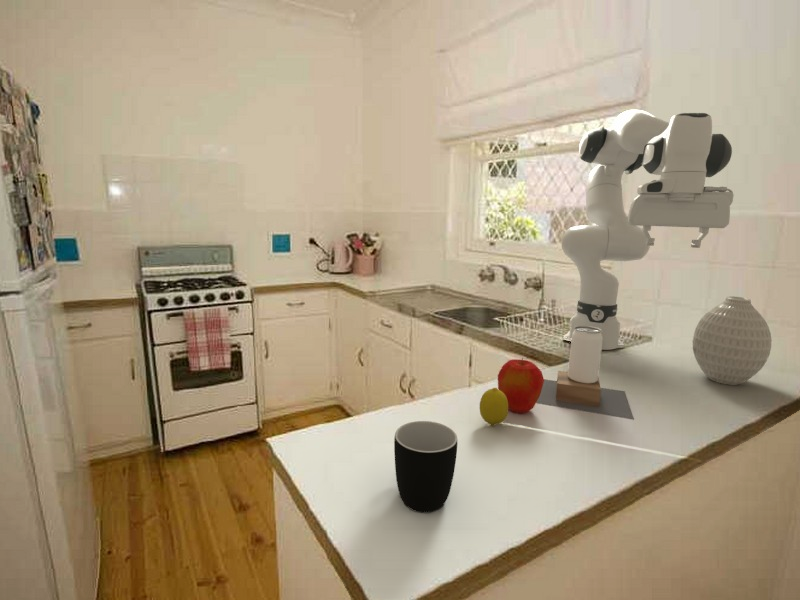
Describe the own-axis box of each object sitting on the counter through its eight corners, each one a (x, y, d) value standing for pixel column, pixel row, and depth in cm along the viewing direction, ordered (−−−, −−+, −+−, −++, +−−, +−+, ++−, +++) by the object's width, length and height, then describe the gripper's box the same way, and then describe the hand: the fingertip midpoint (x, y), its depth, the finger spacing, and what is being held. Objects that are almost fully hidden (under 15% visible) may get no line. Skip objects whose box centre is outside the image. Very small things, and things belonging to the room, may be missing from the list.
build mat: (530, 378, 112) (530, 377, 112) (624, 392, 105) (624, 391, 105) (524, 402, 98) (524, 400, 98) (633, 421, 90) (634, 419, 90)
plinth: (556, 385, 107) (558, 370, 106) (596, 392, 104) (598, 376, 103) (555, 399, 99) (557, 383, 98) (598, 407, 96) (601, 390, 95)
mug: (466, 508, 62) (470, 443, 60) (410, 527, 58) (413, 458, 56) (423, 465, 72) (426, 408, 70) (374, 478, 68) (375, 418, 66)
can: (602, 385, 98) (608, 333, 95) (573, 383, 98) (578, 332, 96) (590, 374, 104) (596, 326, 102) (563, 373, 104) (568, 325, 102)
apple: (487, 409, 94) (491, 356, 91) (511, 398, 100) (515, 348, 98) (525, 425, 87) (530, 368, 85) (548, 412, 93) (553, 359, 91)
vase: (745, 397, 104) (762, 306, 100) (675, 375, 118) (688, 294, 114) (774, 385, 113) (791, 301, 108) (705, 366, 126) (718, 290, 122)
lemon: (475, 429, 85) (478, 390, 84) (481, 417, 90) (483, 380, 89) (504, 434, 83) (507, 395, 82) (508, 422, 88) (511, 385, 87)
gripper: (730, 187, 100) (719, 248, 102) (630, 187, 107) (623, 243, 109) (740, 185, 94) (728, 249, 97) (634, 185, 101) (626, 245, 104)
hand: (672, 246), depth 103 cm, fingers open, 8 cm apart
